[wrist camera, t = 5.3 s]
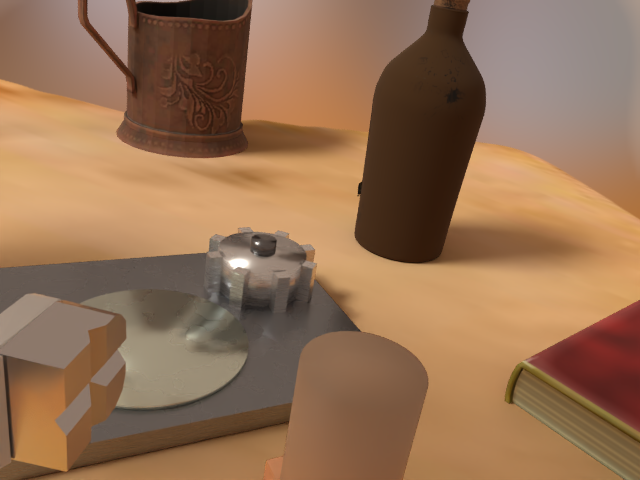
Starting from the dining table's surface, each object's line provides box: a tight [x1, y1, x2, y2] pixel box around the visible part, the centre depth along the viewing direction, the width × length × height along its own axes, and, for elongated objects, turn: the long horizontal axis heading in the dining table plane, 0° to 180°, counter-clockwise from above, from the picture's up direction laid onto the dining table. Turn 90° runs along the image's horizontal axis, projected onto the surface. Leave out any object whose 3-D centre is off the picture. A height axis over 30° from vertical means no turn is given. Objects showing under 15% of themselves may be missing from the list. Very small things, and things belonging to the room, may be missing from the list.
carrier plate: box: [0, 227, 361, 480], centre depth 43 cm, size 24×20×6 cm
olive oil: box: [355, 0, 486, 262], centre depth 60 cm, size 11×11×25 cm
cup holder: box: [78, 0, 252, 158], centre depth 81 cm, size 18×24×25 cm
